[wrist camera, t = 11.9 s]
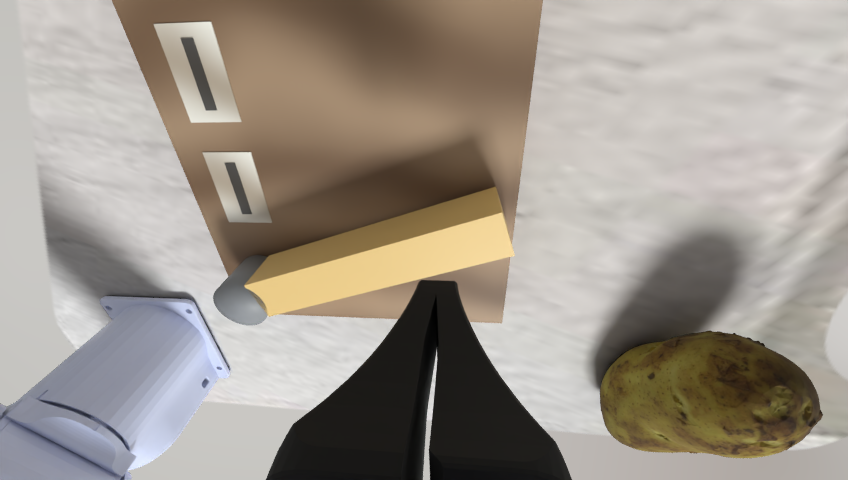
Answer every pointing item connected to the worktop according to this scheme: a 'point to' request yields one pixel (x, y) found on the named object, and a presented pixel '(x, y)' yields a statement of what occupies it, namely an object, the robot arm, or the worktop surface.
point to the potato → (708, 397)
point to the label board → (341, 119)
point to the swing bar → (368, 258)
